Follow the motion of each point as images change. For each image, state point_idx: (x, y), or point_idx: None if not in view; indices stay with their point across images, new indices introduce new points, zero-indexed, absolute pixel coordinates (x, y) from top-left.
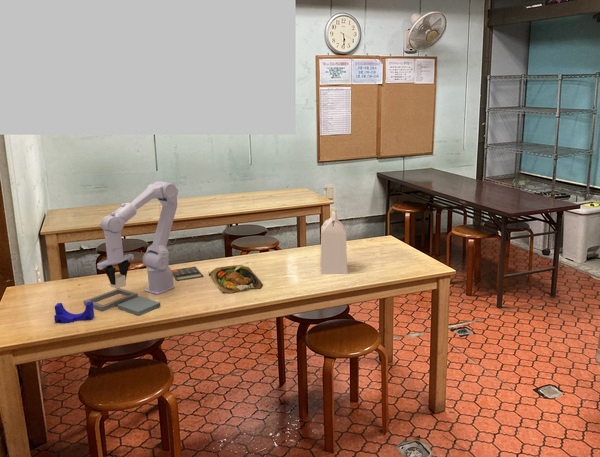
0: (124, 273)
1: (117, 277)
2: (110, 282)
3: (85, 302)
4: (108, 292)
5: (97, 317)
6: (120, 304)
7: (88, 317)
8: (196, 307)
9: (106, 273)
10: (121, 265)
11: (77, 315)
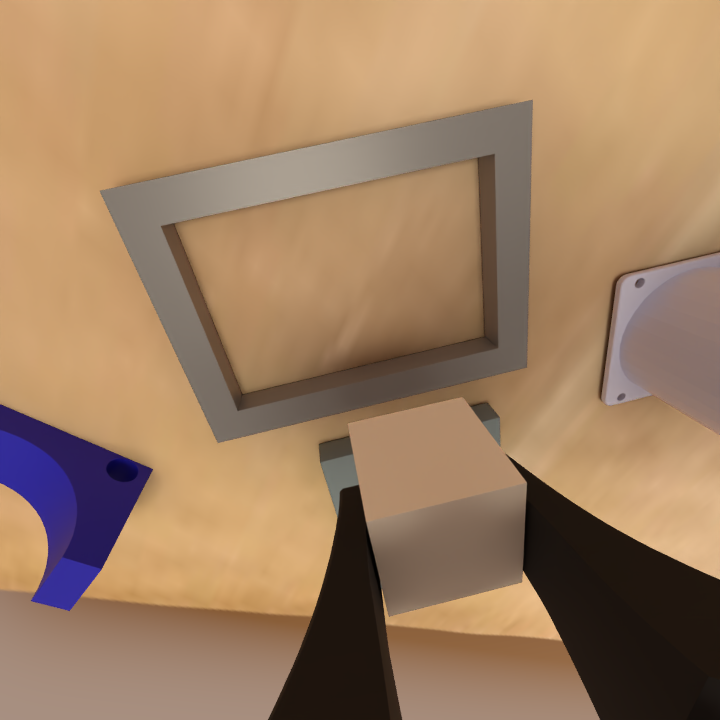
0: (541, 594)
1: (423, 596)
2: (341, 506)
3: (120, 227)
4: (393, 148)
5: (167, 489)
6: (339, 468)
7: (109, 472)
8: None
9: (309, 647)
10: (640, 708)
11: (17, 462)
